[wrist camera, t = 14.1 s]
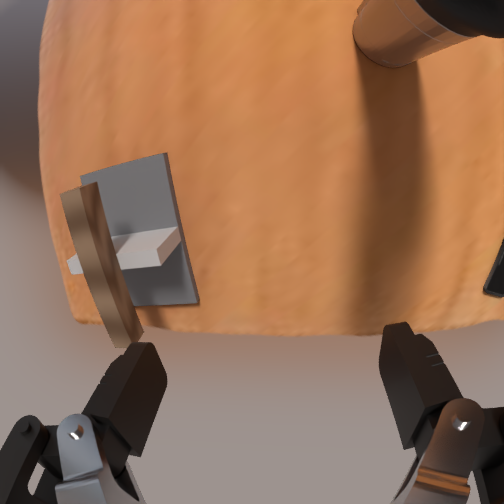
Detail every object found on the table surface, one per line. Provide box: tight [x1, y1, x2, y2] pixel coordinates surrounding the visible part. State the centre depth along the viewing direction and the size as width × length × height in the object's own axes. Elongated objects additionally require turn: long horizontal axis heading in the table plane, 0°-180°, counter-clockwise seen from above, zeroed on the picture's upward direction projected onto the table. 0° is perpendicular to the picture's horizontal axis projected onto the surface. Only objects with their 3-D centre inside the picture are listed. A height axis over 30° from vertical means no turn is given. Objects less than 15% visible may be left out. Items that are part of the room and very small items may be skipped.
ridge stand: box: [67, 152, 199, 306], centre depth 37 cm, size 22×14×10 cm, turn 8°
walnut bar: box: [60, 182, 144, 348], centre depth 31 cm, size 20×3×4 cm, turn 8°
